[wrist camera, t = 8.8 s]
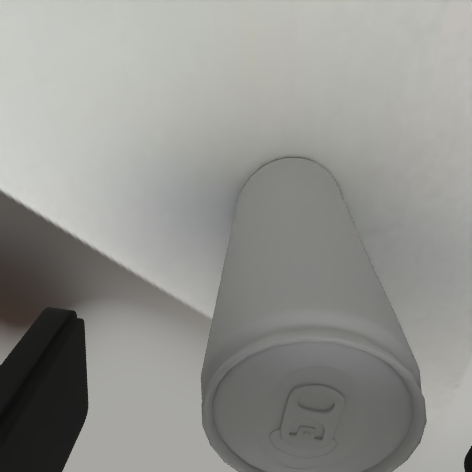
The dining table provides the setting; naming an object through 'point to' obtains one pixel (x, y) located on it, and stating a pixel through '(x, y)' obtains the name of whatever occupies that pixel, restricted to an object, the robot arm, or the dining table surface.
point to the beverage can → (306, 338)
